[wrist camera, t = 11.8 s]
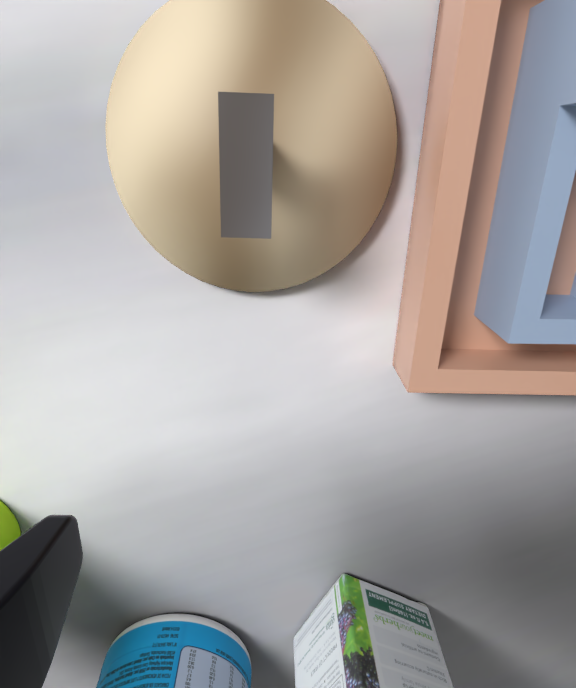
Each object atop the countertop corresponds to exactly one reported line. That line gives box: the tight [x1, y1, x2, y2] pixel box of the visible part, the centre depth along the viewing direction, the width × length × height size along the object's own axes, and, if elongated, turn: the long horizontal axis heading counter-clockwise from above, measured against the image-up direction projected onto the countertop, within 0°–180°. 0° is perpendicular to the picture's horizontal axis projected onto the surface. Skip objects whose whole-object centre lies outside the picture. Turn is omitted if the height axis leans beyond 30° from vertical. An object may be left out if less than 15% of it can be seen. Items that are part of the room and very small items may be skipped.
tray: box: [393, 0, 576, 395], centre depth 16 cm, size 10×15×2 cm, turn 178°
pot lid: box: [106, 0, 397, 292], centre depth 15 cm, size 10×10×5 cm
